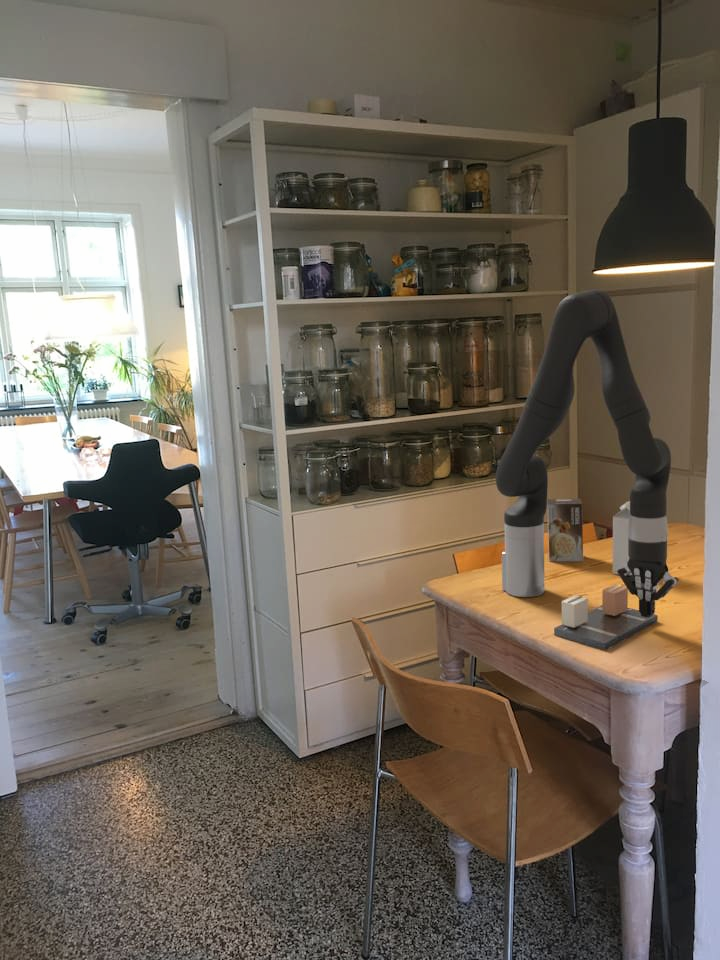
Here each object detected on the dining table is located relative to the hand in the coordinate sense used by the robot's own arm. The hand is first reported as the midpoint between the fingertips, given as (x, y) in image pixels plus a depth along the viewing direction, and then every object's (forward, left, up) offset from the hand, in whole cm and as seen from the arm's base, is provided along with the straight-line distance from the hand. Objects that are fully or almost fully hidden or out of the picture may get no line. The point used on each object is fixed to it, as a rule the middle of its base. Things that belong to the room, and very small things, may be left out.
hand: (646, 616), depth 167 cm
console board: (-6, -5, -3) cm, 9 cm away
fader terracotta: (-8, 0, -1) cm, 8 cm away
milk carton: (-21, +30, -3) cm, 37 cm away
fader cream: (-10, -11, -1) cm, 15 cm away
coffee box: (-41, +30, -3) cm, 51 cm away
